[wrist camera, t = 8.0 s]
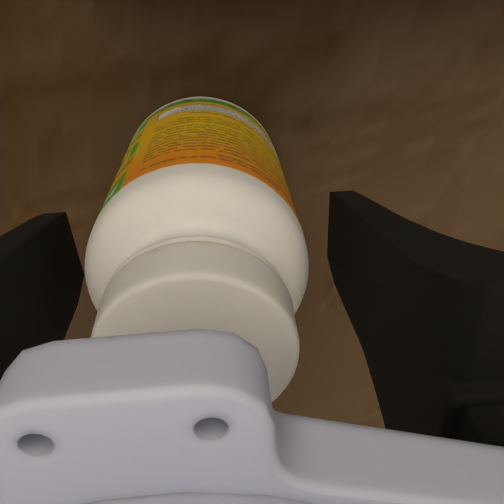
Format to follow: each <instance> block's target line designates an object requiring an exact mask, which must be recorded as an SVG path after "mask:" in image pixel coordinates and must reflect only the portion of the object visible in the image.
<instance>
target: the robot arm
mask: <svg viewBox="0 0 504 504" xmlns="http://www.w3.org/2000/svg"><path fill="white" fill-rule="evenodd" d="M327 256H328V260H329V265H330V269H331V272H332V276H333V280H334V283H335V286H336V288H337V290H338V293H339V295H340V297H341V300H342V302H343V304H344V307H345V309H346V311H347V314H348V316H349V318H350V320H351V323H352V325H353V327H354V330H355V332H356V334H357V336H358V339H359V341H360V344H361V346H362V349H363V351H364V354H365V357H366V361H367V364H368V367H369V371H370V374H371V377H372V381H373V384H374V387H375V391H376V395H377V398H378V402H379V406H380V409H381V413H382V416H383V420H384V424H385V428H386V429H384V428H377V427H371V426H364V425H358V424H351V423H345V422H338V421H331V420H325V419H318V418H312V417H305V416H299V415H292V414H286V413H279V412H277V411H275V410H274V409H273V407H272V403H271V396H270V388H269V381H268V373H267V369H266V366H265V364H264V362H263V360H262V357H261V355H260V353H259V350H258V348H257V347H255V346H253V345H252V344H250V343H249V342H247V341H245V340H244V339H242V338H241V337H239V336H237V335H236V334H234V333H232V332H223V331H215V330H206V329H190V330H178V331H166V332H154V333H142V334H131V335H119V336H107V337H95V338H83V339H71V340H64V338H65V335H66V333H67V330H68V328H69V325H70V323H71V320H72V318H73V315H74V313H75V310H76V307H77V305H78V301H79V296H80V292H81V287H82V282H83V277H84V273H83V270H82V266H81V263H80V259H79V256H78V252H77V249H76V246H75V242H74V239H73V235H72V232H71V228H70V225H69V221H68V218H67V214H66V212H61V213H48V214H41V215H39V216H36V217H34V218H32V219H30V220H28V221H27V222H25V223H23V224H21V225H19V226H18V227H16V228H14V229H13V230H11V231H9V232H8V233H6V234H4V235H2V236H1V237H0V504H504V252H503V251H498V250H494V249H490V248H486V247H482V246H478V245H474V244H471V243H467V242H464V241H461V240H457V239H455V238H452V237H449V236H446V235H443V234H440V233H438V232H435V231H433V230H430V229H428V228H425V227H423V226H421V225H419V224H416V223H414V222H412V221H410V220H408V219H406V218H404V217H402V216H400V215H398V214H396V213H394V212H392V211H390V210H388V209H387V208H385V207H383V206H381V205H379V204H378V203H376V202H374V201H372V200H370V199H369V198H367V197H365V196H363V195H361V194H359V193H357V192H354V191H340V192H330V201H329V225H328V249H327Z"/></svg>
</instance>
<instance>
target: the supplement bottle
mask: <svg viewBox="0 0 504 504" xmlns="http://www.w3.org/2000/svg"><path fill="white" fill-rule="evenodd" d="M308 273H309V260H308V251H307V246H306V242H305V237H304V234H303V231H302V227H301V224H300V221H299V218H298V215H297V212H296V210H295V207H294V204H293V201H292V198H291V195H290V192H289V189H288V186H287V183H286V181H285V178H284V175H283V172H282V169H281V166H280V162H279V159H278V156H277V153H276V151H275V148H274V146H273V144H272V141H271V139H270V137H269V135H268V134H267V132H266V131H265V129H264V128H263V126H262V125H261V124H260V123H259V122H258V120H257V119H255V118H254V117H253V116H252V115H251V114H250V113H248V112H247V111H246V110H244V109H243V108H241V107H239V106H237V105H235V104H233V103H231V102H228V101H225V100H222V99H218V98H213V97H202V96H199V97H188V98H183V99H179V100H176V101H173V102H171V103H168V104H166V105H164V106H162V107H160V108H159V109H157V110H156V111H154V112H153V113H152V114H151V115H150V116H149V117H147V118H146V120H145V121H144V122H143V123H142V124H141V125H140V127H139V128H138V130H137V131H136V133H135V135H134V136H133V138H132V140H131V142H130V145H129V147H128V149H127V152H126V154H125V156H124V159H123V161H122V163H121V166H120V168H119V170H118V173H117V175H116V177H115V180H114V182H113V184H112V186H111V188H110V191H109V193H108V195H107V197H106V199H105V202H104V204H103V206H102V208H101V210H100V213H99V215H98V217H97V219H96V221H95V224H94V226H93V229H92V231H91V234H90V237H89V241H88V244H87V248H86V255H85V278H86V284H87V288H88V292H89V295H90V297H91V300H92V302H93V304H94V306H95V308H96V310H97V316H96V319H95V323H94V326H93V330H92V334H91V338H95V337H107V336H119V335H131V334H142V333H154V332H166V331H178V330H190V329H206V330H215V331H223V332H232V333H234V334H236V335H237V336H239V337H241V338H242V339H244V340H245V341H247V342H249V343H250V344H252V345H253V346H255V347H257V348H258V350H259V353H260V355H261V357H262V360H263V362H264V364H265V366H266V369H267V373H268V381H269V388H270V396H271V403H272V402H273V401H274V400H275V399H276V398H277V397H278V396H279V395H280V394H281V393H282V392H283V391H284V390H285V388H286V387H287V386H288V384H289V383H290V381H291V379H292V377H293V375H294V373H295V370H296V367H297V364H298V359H299V353H300V341H299V335H298V330H297V325H296V320H295V313H296V311H297V309H298V308H299V306H300V303H301V301H302V299H303V296H304V293H305V290H306V286H307V281H308Z"/></svg>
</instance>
